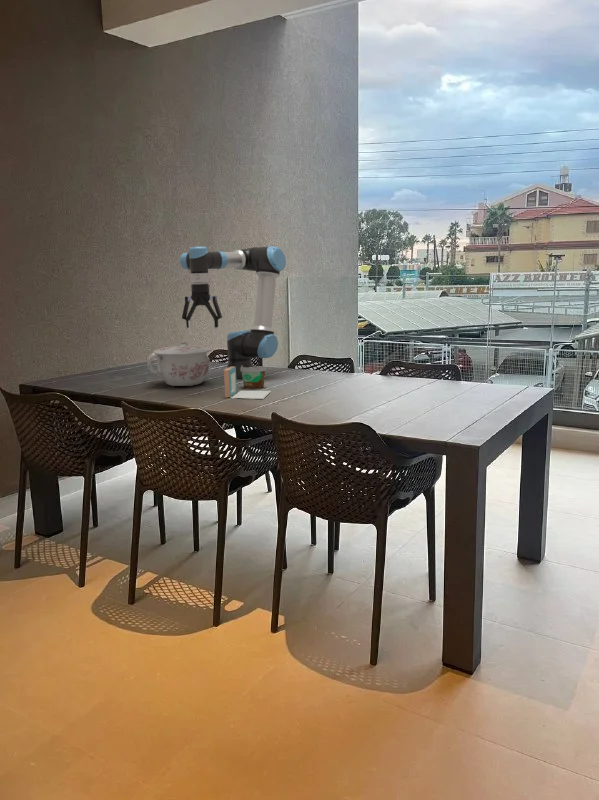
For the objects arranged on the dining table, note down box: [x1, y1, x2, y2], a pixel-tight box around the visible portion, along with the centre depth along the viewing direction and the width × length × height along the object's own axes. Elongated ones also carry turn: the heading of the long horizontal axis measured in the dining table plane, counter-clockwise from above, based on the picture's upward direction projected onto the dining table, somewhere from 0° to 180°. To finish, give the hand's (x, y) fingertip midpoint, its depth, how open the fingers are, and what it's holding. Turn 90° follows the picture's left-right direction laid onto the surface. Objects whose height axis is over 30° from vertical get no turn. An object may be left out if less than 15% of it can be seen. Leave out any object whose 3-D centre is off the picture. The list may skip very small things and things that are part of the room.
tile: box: [223, 366, 238, 398], centre depth 277 cm, size 10×2×12 cm, turn 171°
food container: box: [240, 365, 267, 389], centre depth 293 cm, size 12×6×10 cm, turn 71°
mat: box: [230, 390, 272, 400], centre depth 277 cm, size 16×14×1 cm
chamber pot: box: [146, 341, 213, 387], centre depth 305 cm, size 28×28×21 cm
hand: (202, 335), depth 280 cm, fingers open, 10 cm apart
